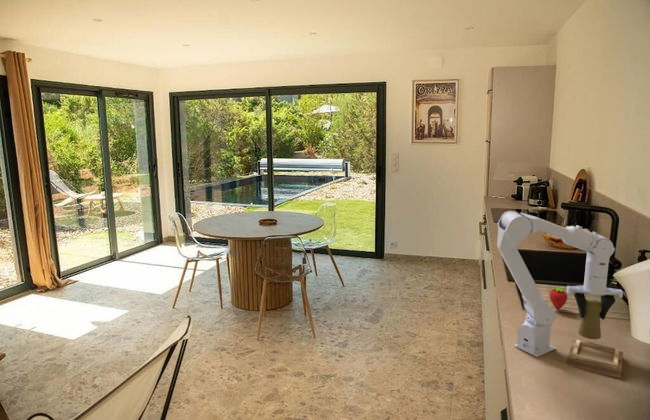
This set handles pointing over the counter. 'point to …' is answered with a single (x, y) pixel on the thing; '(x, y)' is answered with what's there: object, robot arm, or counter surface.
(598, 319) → the cork
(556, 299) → the strawberry
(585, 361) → the wooden serving tray
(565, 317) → the counter surface
